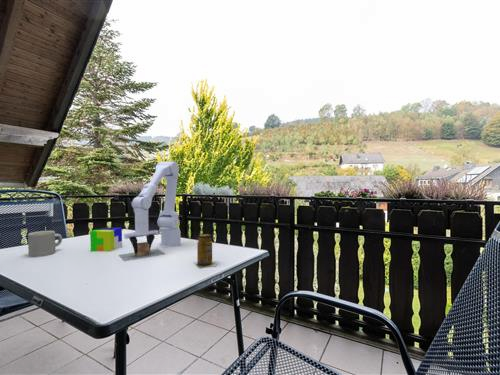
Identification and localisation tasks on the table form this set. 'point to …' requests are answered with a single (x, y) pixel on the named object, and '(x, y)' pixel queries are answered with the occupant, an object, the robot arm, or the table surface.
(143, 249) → the walnut block
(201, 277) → the table surface
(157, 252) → the gray tile
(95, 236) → the puzzle toy
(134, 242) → the robot arm
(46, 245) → the coffee mug
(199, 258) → the condiment
